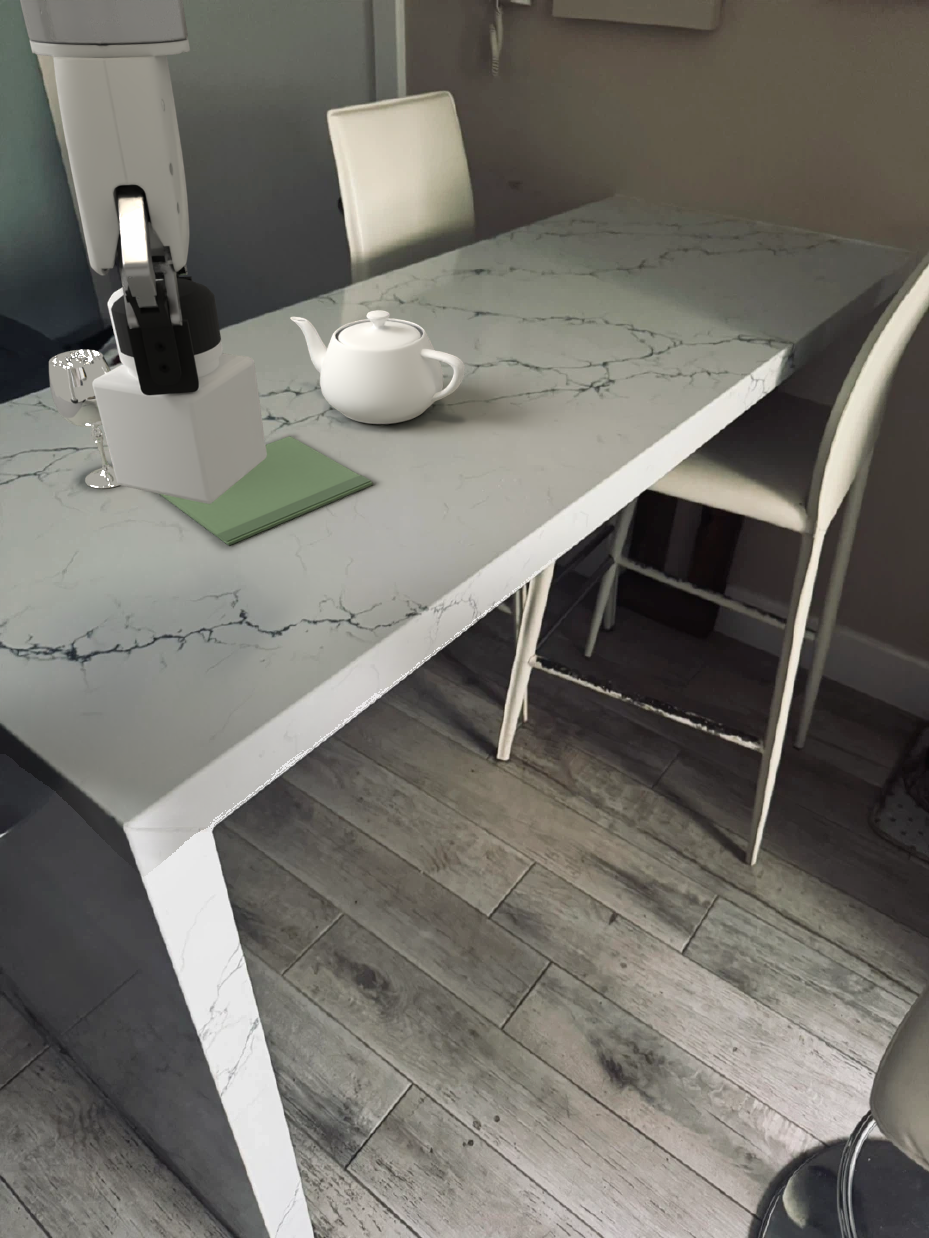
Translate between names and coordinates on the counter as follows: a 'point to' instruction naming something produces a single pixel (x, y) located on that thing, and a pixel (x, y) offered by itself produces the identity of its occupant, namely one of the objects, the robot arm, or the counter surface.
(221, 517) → the napkin
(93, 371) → the wineglass
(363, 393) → the teapot
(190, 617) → the counter surface
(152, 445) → the medicine bottle
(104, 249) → the robot arm
